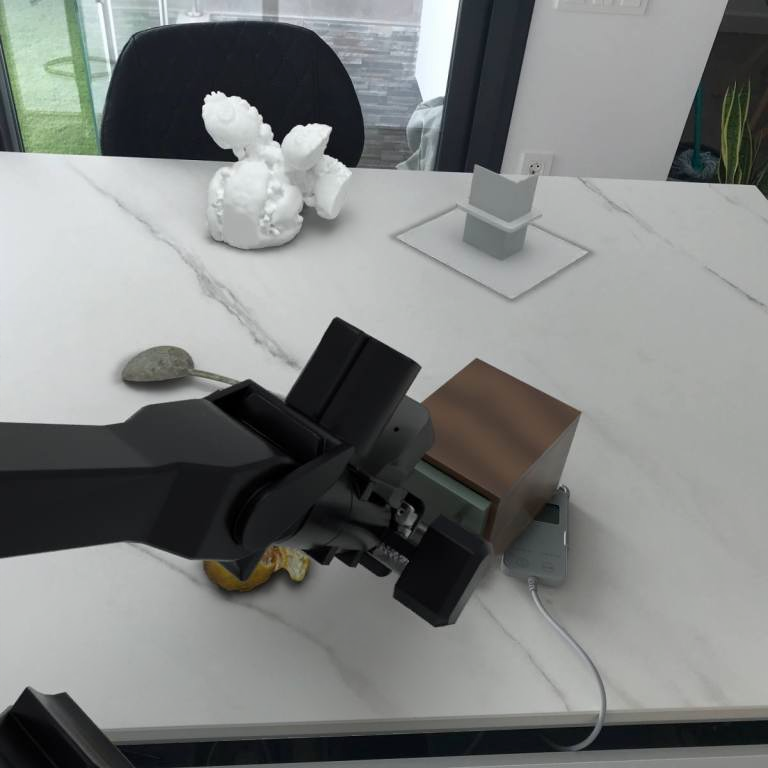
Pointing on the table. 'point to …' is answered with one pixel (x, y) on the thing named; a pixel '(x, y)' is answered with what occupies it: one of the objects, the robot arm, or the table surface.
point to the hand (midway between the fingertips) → (399, 523)
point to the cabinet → (501, 444)
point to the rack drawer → (446, 499)
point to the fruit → (261, 569)
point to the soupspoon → (167, 366)
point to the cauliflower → (268, 176)
